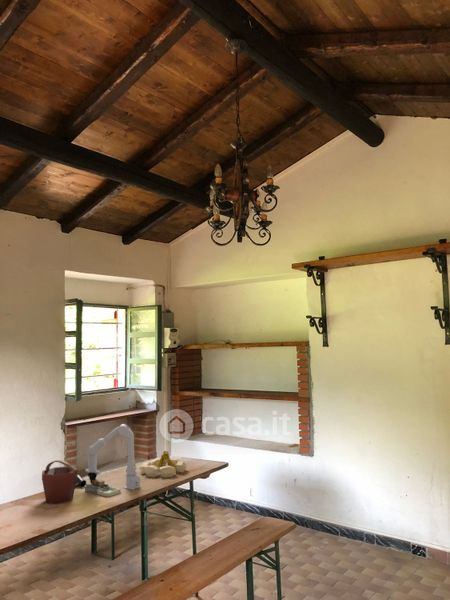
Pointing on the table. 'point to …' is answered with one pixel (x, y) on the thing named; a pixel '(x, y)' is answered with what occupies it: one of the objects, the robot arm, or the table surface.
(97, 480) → the block
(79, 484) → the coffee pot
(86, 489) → the rail
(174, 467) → the campfire
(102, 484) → the block
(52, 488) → the bucket
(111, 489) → the tray
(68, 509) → the table surface
